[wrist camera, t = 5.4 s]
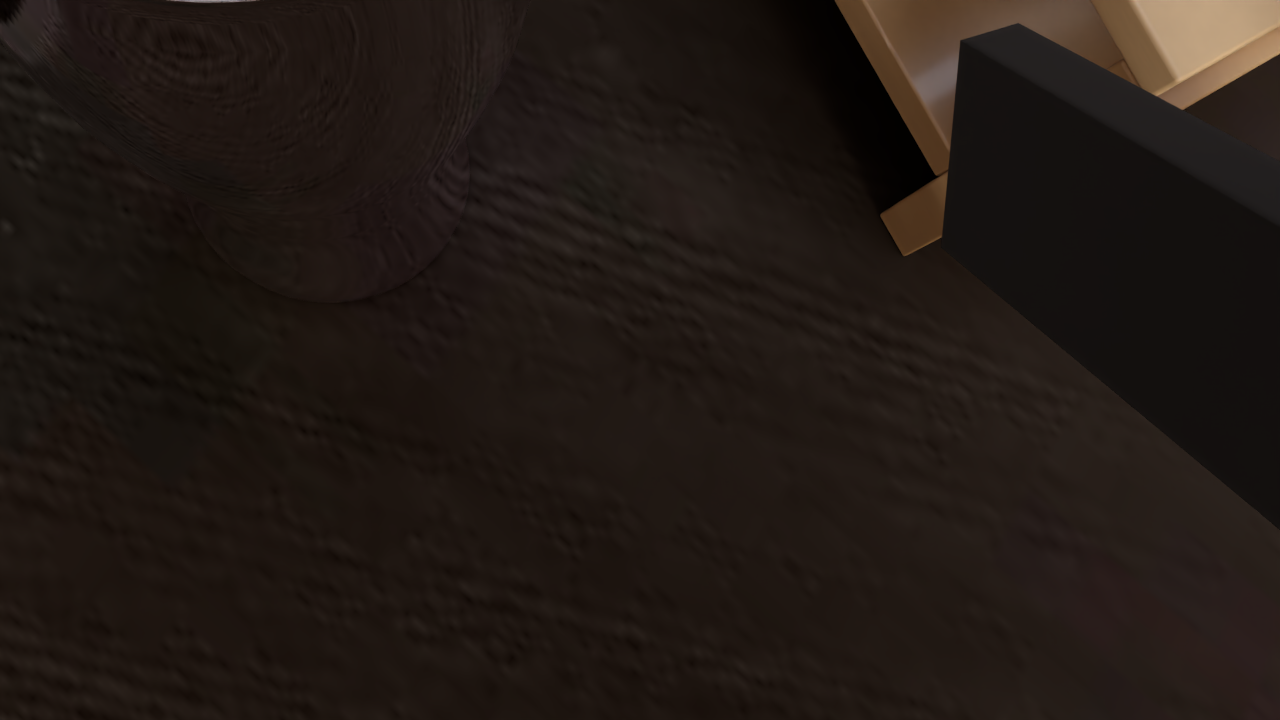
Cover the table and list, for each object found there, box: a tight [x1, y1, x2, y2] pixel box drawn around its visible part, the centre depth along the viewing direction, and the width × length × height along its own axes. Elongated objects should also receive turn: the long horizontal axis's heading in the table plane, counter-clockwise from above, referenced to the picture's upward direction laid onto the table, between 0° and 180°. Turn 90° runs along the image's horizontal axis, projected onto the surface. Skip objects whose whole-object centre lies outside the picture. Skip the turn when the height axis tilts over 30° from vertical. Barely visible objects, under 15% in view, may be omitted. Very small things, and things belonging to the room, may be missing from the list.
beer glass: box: [0, 0, 531, 303], centre depth 17 cm, size 7×7×15 cm
